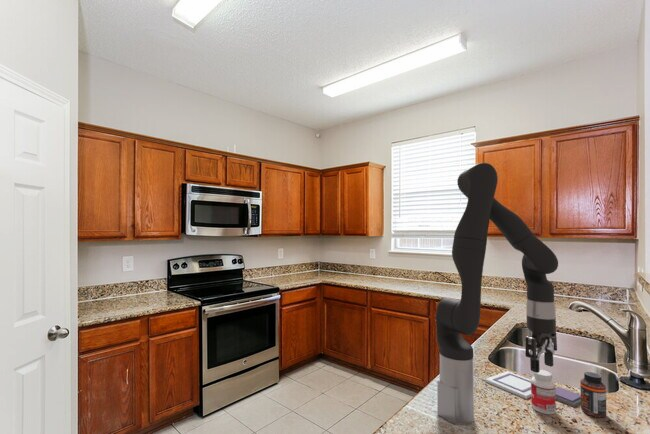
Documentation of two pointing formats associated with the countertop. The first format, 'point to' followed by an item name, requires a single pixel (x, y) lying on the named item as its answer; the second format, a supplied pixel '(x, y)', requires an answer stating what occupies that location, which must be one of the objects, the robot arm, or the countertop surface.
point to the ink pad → (567, 397)
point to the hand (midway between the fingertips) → (542, 368)
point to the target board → (512, 383)
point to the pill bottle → (543, 393)
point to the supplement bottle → (593, 395)
